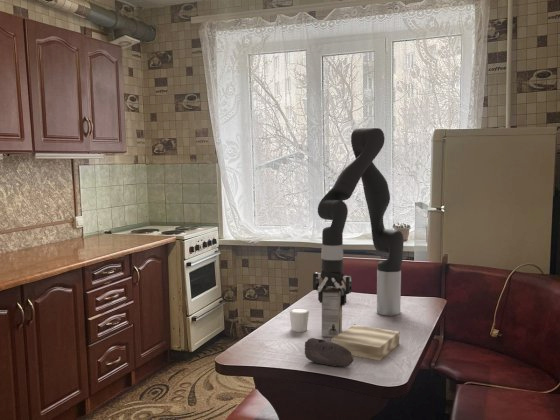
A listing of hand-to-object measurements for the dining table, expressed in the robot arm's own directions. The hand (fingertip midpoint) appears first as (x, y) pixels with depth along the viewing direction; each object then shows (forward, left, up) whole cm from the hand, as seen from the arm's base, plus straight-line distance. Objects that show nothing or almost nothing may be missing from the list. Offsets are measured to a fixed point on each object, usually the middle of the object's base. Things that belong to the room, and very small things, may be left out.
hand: (332, 303), depth 193 cm
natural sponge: (-43, -19, -11) cm, 48 cm away
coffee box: (0, 0, -11) cm, 11 cm away
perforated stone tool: (+27, +12, -11) cm, 32 cm away
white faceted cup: (+2, -12, -11) cm, 16 cm away
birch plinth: (+8, +16, -10) cm, 21 cm away
